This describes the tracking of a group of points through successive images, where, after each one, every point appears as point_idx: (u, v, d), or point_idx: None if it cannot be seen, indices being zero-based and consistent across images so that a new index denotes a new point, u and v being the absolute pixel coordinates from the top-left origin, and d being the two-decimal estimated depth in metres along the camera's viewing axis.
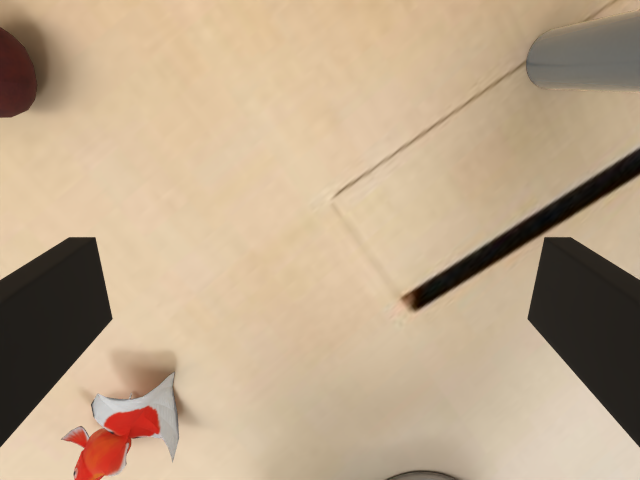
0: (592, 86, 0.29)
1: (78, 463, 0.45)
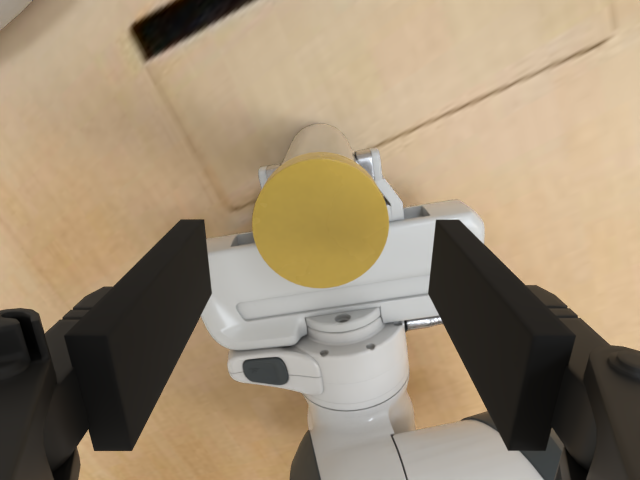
0: (347, 146, 0.25)
1: None
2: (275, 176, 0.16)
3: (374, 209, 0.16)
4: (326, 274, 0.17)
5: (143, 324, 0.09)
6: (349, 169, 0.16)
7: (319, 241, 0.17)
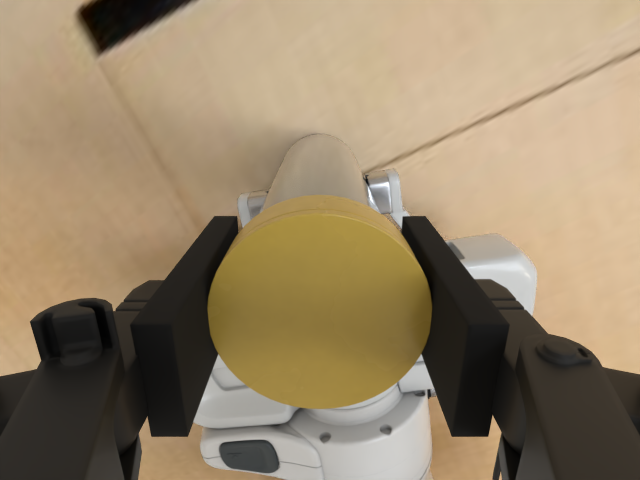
0: (356, 169, 0.18)
1: None
2: (243, 242, 0.09)
3: (409, 293, 0.10)
4: (329, 389, 0.11)
5: (195, 315, 0.09)
6: (369, 231, 0.09)
7: (318, 341, 0.10)
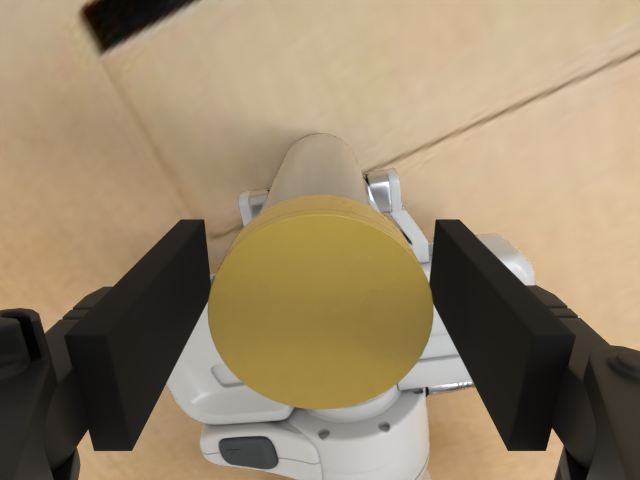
0: (356, 169, 0.18)
1: None
2: (225, 361, 0.11)
3: (311, 235, 0.09)
4: (405, 330, 0.10)
5: (143, 324, 0.09)
6: (233, 260, 0.10)
7: (344, 328, 0.10)
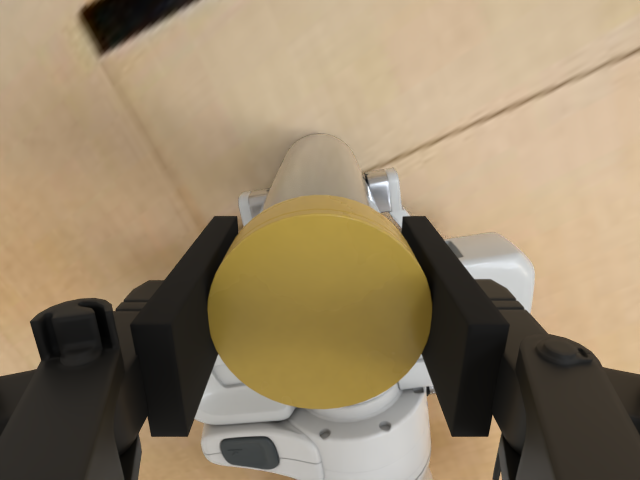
0: (355, 168, 0.18)
1: None
2: (225, 361, 0.11)
3: (309, 235, 0.09)
4: (404, 330, 0.10)
5: (195, 315, 0.09)
6: (232, 260, 0.10)
7: (343, 327, 0.10)
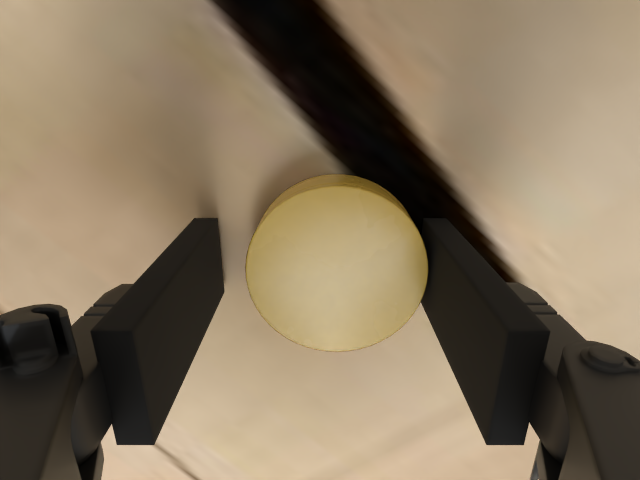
0: None
1: None
2: (258, 308, 0.13)
3: (329, 203, 0.12)
4: (405, 283, 0.13)
5: (164, 320, 0.09)
6: (267, 224, 0.12)
7: (355, 281, 0.13)
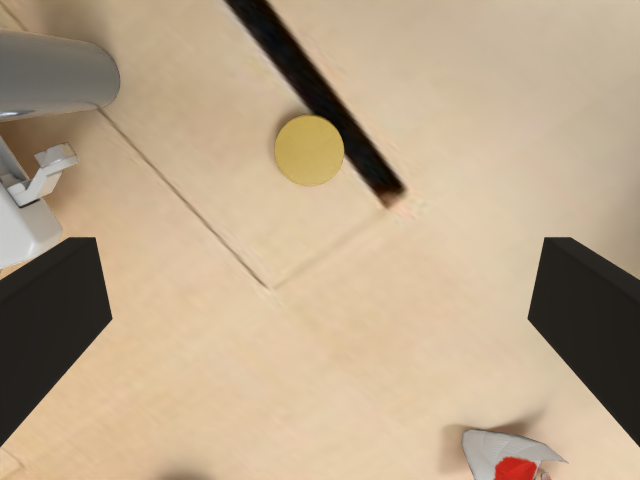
0: (59, 95, 0.25)
1: None
2: (279, 167, 0.33)
3: (305, 122, 0.32)
4: (335, 155, 0.33)
5: None
6: (282, 131, 0.32)
7: (316, 154, 0.33)
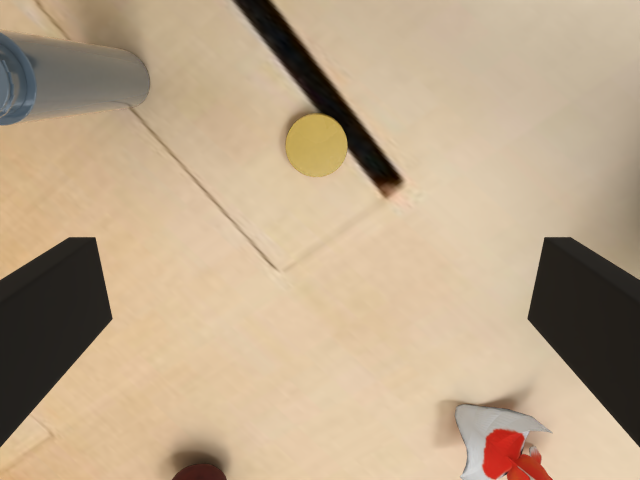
0: (103, 95, 0.29)
1: None
2: (289, 160, 0.37)
3: (313, 120, 0.36)
4: (339, 149, 0.37)
5: None
6: (293, 127, 0.36)
7: (322, 148, 0.37)
